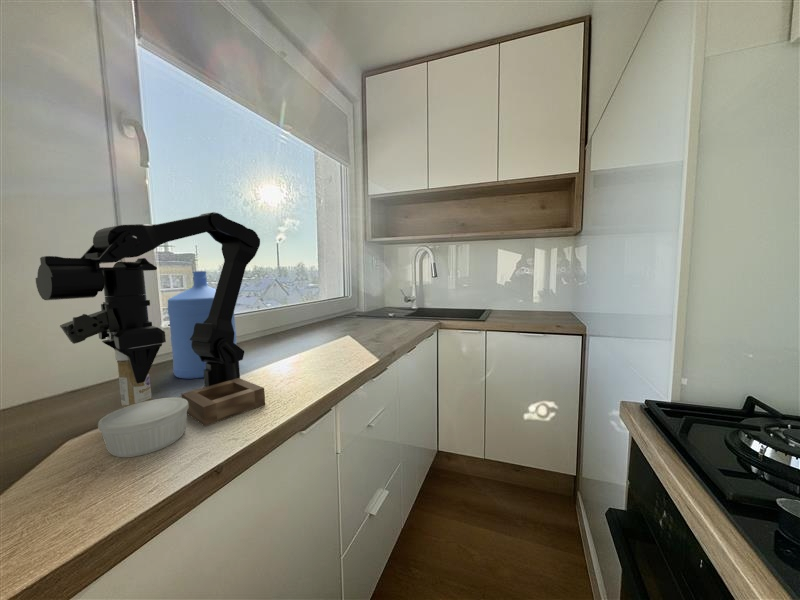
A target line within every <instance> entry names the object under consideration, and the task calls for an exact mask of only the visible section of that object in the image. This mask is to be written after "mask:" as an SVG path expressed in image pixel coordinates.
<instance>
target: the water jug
mask: <svg viewBox="0 0 800 600" xmlns="http://www.w3.org/2000/svg"><path fill="white" fill-rule="evenodd" d="M192 273H193V277H192V278H193V286H192V287H190V288H188V289H187V290H184V291H183V292H180V293H178V294H176V295H173V296H172V297H169V299H167V314H168V317H169V318H168V319H169V321H168V322H169V327H170V341H171V342H170V343H171V351H172V361H173V362H172V363H173V364H172V365H173V367H172V370H173V375H174V376H175V377H177V378H179V379H187V380H189V379H204V370H205V369H206V363H207V362H202V361H201V359H200V357H199V355H197V354H196V353H195V352H194V350H193V349H192V346H191V345H192V341H191V340H190V338H191V337H192V335H193V332H194V326H195V324H196V323H203V322H204V321H205V320H206V319H207V318H208V316H209V313H210V309H211V306H212V303H213V299H214V296H215V292H216V289H217V288H214V287H211V286H209V285H208V277H207V271H206V270H205V271H204V270H202V271H199V270H198V271H192ZM232 326H233V329H234V333H235V335H234V343H235V344H236V345H237V344H238V343H237V329H236V321H235V312H234V313H233V317H232ZM237 346H238V345H237Z"/></svg>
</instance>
